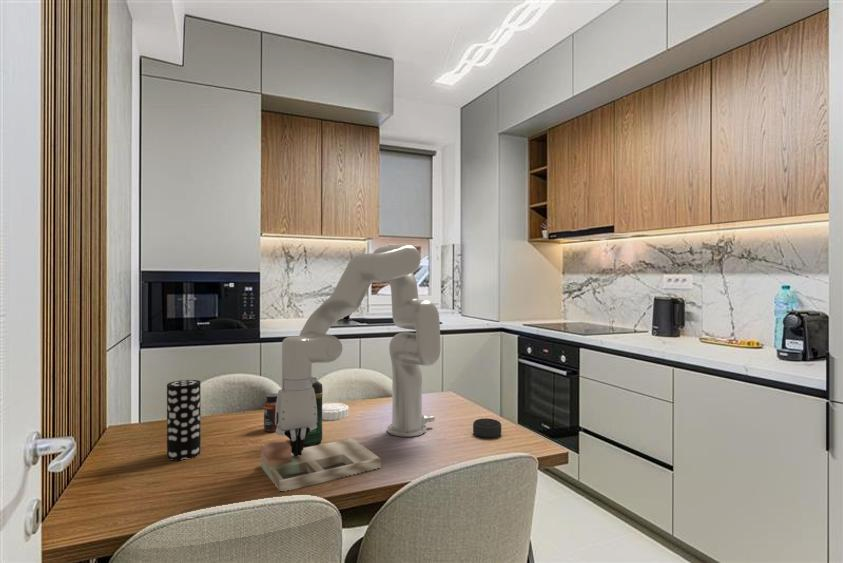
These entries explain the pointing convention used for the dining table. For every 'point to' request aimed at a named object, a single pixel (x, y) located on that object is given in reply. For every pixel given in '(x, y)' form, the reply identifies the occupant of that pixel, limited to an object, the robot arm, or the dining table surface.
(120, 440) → the dining table surface
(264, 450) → the block
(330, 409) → the mooncake
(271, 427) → the supplement bottle
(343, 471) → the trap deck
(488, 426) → the smart speaker
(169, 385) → the white-spotted black cylinder
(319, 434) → the coffee jar
